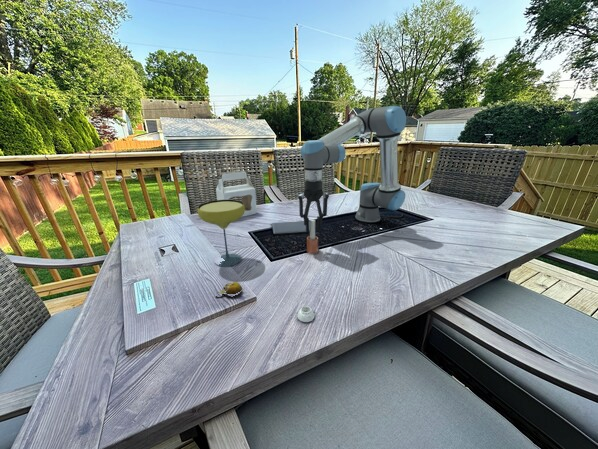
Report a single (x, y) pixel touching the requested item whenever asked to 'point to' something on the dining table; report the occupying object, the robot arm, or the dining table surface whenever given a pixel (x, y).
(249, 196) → the gable box
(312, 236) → the stylus
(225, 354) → the dining table surface
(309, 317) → the lidless jar
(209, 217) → the cocktail glass
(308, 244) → the pen cup
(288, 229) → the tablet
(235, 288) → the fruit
